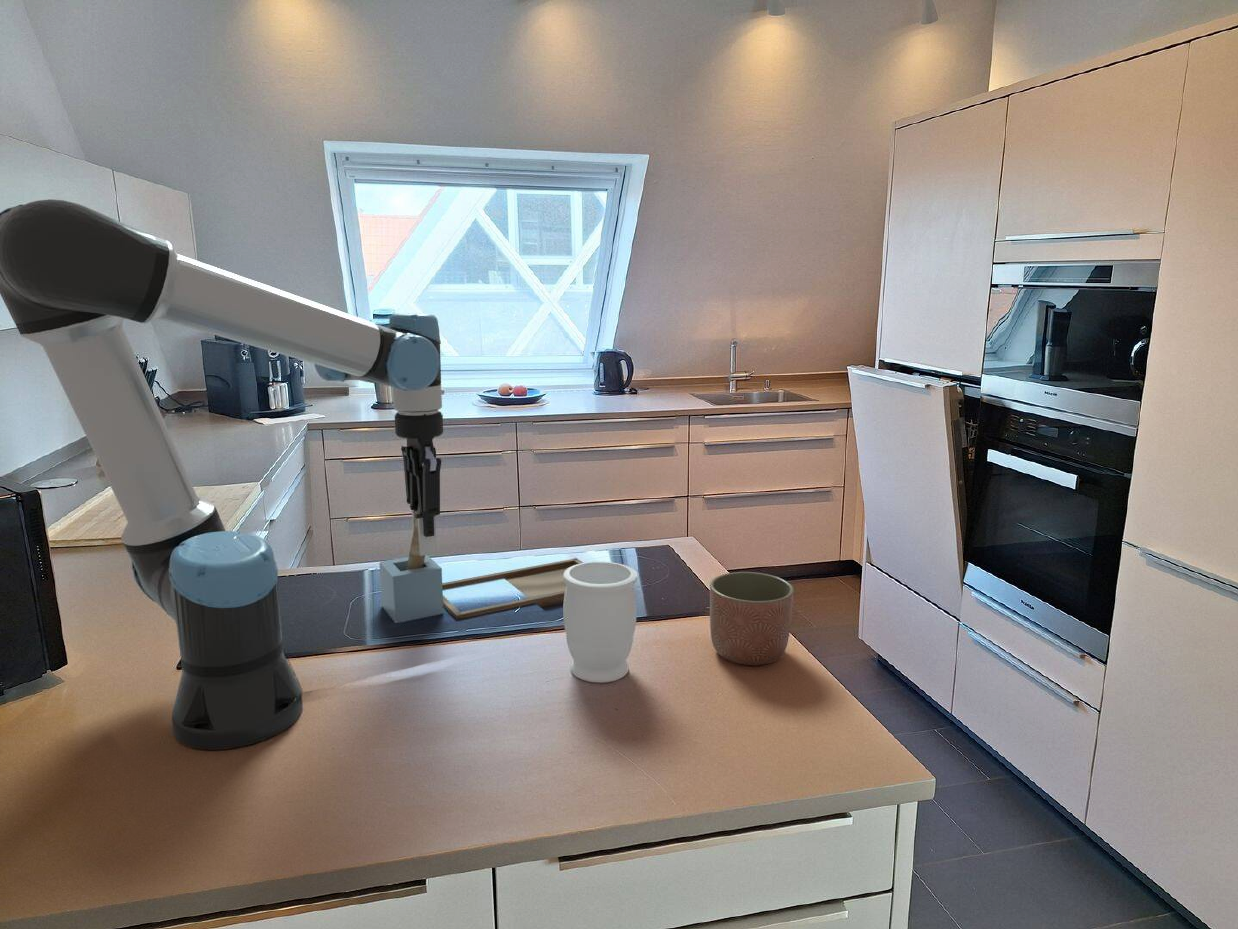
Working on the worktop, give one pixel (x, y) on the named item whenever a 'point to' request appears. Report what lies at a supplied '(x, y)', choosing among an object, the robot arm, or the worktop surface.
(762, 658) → the planter
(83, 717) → the worktop surface
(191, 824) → the worktop surface
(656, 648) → the worktop surface
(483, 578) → the tray
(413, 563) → the dowel
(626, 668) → the jar
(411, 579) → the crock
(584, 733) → the worktop surface
